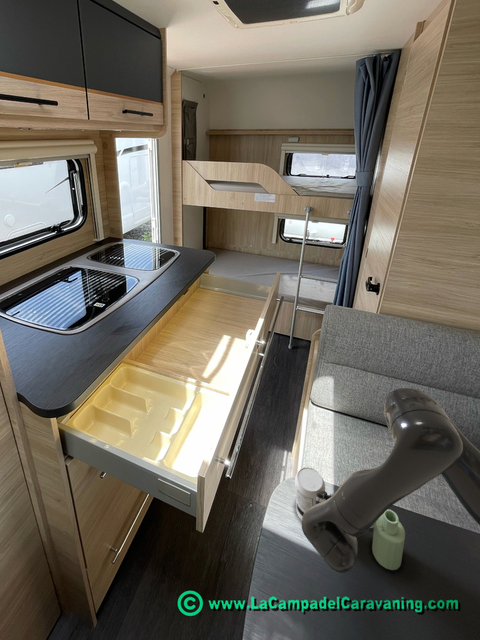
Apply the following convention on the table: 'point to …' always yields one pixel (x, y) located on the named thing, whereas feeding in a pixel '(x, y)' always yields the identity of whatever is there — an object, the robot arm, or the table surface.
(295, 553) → the table surface
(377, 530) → the green bottle
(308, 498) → the supplement can
